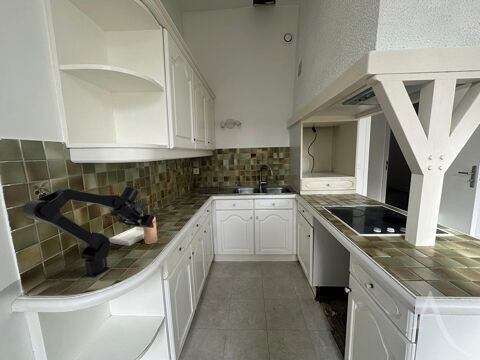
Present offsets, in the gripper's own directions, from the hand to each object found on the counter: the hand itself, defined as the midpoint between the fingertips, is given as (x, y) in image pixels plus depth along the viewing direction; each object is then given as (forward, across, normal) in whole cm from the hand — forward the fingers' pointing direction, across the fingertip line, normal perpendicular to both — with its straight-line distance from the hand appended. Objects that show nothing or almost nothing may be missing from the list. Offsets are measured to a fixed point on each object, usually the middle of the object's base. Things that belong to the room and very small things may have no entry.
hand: (146, 226), depth 110 cm
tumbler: (+8, 0, +5) cm, 10 cm away
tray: (+9, +14, +4) cm, 17 cm away
